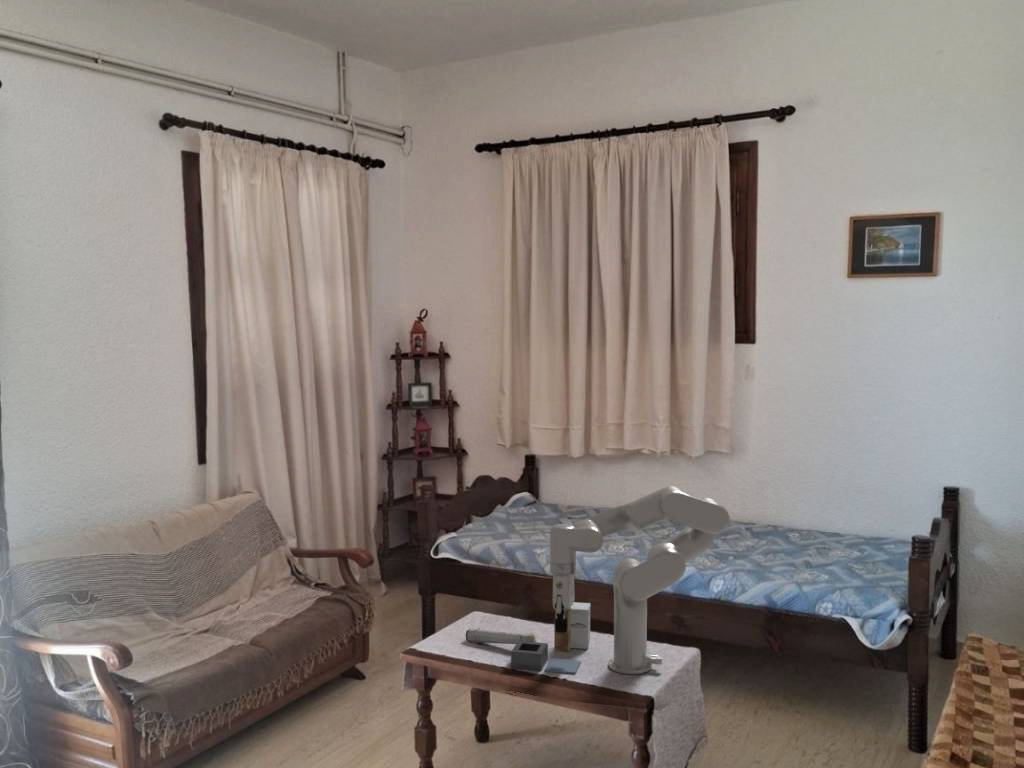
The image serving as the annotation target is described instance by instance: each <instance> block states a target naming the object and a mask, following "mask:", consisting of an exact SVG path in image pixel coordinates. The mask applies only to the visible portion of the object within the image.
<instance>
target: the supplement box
mask: <svg viewBox="0 0 1024 768" xmlns="http://www.w3.org/2000/svg"><path fill="white" fill-rule="evenodd" d="M591 605H592V604H591V603H590V602H575V601H574V603H573V605H572V606H571V648H570V649H579V650H580V649H582V650H583V649H584V650H589V646H590V642H591V641H590V640H591Z"/></svg>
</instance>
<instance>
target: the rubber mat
mask: <svg viewBox="0 0 1024 768" xmlns="http://www.w3.org/2000/svg"><path fill="white" fill-rule="evenodd" d="M546 664H547V665H546V666H545V668H544V672H548V673H557V674H565V675H566V674H568V675H576V674H577V672H578V670H579V668H580V666H581V664H582V660H575V659H566V658H554V657H552V658H551V657H550V659H549V660H548V663H546Z"/></svg>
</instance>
